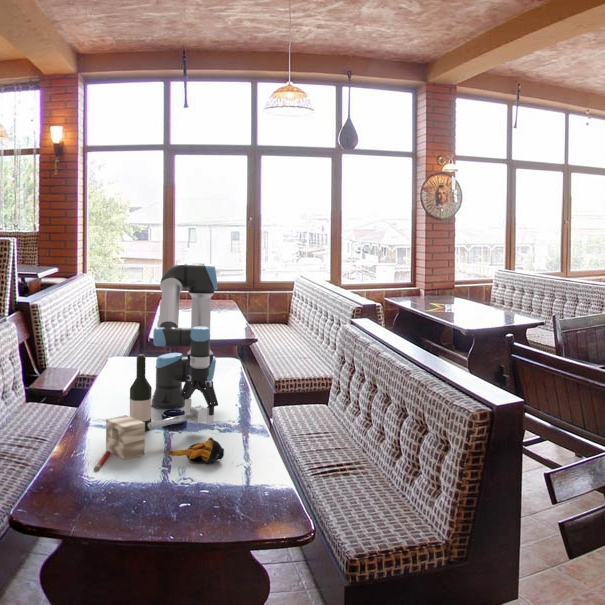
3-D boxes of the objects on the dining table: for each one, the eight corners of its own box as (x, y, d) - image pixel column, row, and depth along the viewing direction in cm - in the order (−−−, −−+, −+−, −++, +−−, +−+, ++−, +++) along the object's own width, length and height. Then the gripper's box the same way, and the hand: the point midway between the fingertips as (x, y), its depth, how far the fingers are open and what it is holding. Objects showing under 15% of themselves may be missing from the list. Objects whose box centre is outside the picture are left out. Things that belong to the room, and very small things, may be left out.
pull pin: (145, 431, 230) (145, 417, 229) (199, 417, 249) (200, 405, 248) (153, 434, 226) (153, 421, 226) (207, 420, 245) (208, 408, 245)
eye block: (106, 450, 222) (106, 419, 221) (127, 445, 228) (127, 414, 227) (124, 459, 214) (124, 427, 213) (146, 453, 220) (146, 422, 219)
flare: (93, 471, 203) (93, 466, 203) (105, 455, 218) (105, 450, 218) (98, 471, 204) (98, 466, 203) (110, 455, 218) (110, 450, 218)
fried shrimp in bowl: (229, 453, 211) (179, 441, 204) (216, 476, 215) (166, 465, 208) (226, 435, 219) (178, 423, 212) (214, 458, 223) (166, 447, 216)
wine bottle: (155, 427, 250) (156, 354, 246) (141, 433, 242) (142, 357, 239) (139, 424, 253) (139, 352, 250) (125, 429, 246) (125, 355, 242)
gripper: (172, 362, 248) (171, 413, 251) (213, 373, 232) (211, 428, 234) (187, 359, 254) (186, 410, 256) (228, 370, 237) (226, 424, 240)
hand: (198, 419), depth 245 cm, fingers open, 13 cm apart
